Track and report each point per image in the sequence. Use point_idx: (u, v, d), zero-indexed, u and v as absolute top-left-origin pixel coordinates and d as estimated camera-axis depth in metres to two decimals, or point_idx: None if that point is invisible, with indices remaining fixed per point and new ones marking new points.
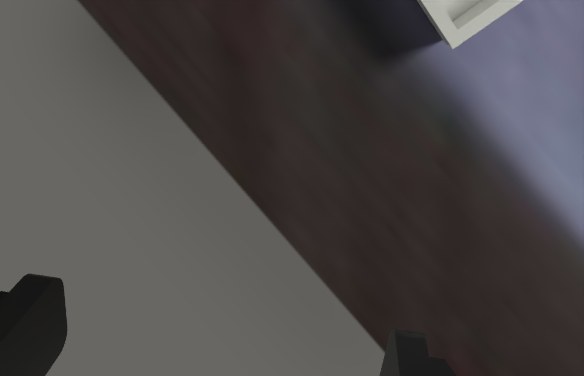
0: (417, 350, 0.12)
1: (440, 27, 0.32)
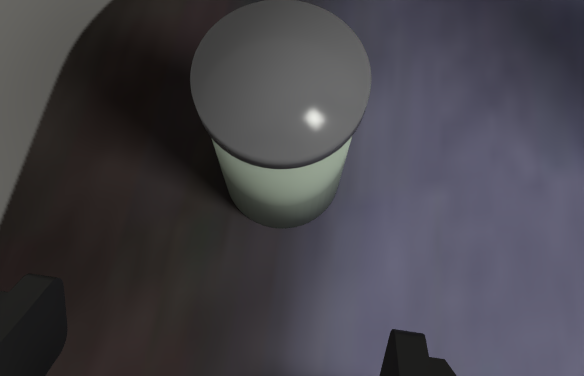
0: (417, 350, 0.12)
1: None
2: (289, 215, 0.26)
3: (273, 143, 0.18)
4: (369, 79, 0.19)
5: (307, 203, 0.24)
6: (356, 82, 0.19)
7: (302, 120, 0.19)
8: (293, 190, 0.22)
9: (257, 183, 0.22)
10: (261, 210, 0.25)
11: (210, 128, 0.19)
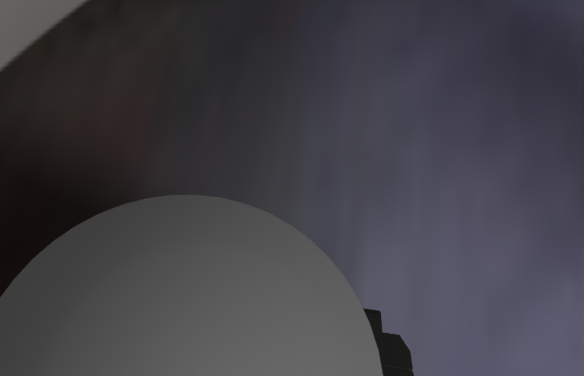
0: (372, 325, 0.12)
1: None
2: None
3: None
4: None
5: None
6: None
7: None
8: None
9: None
10: None
11: None
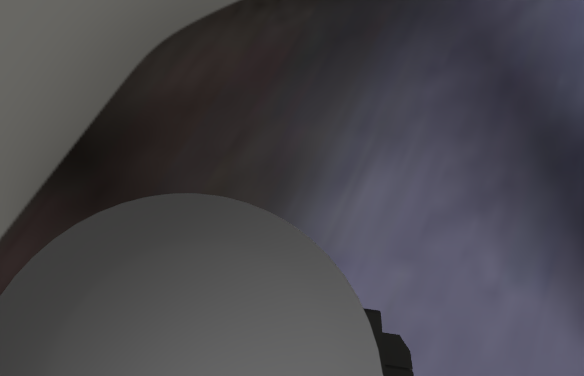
0: (371, 325, 0.12)
1: None
2: None
3: None
4: None
5: None
6: None
7: None
8: None
9: None
10: None
11: None
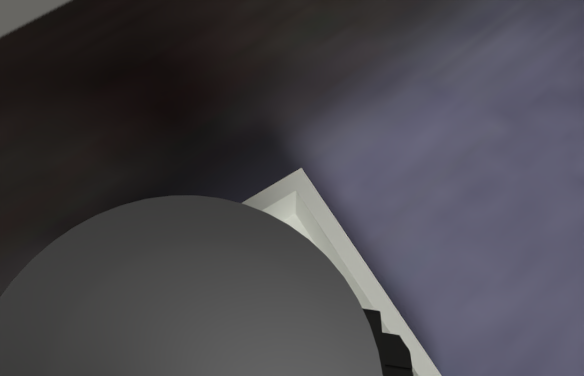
0: (371, 325, 0.12)
1: None
2: None
3: None
4: None
5: None
6: None
7: None
8: None
9: None
10: None
11: None
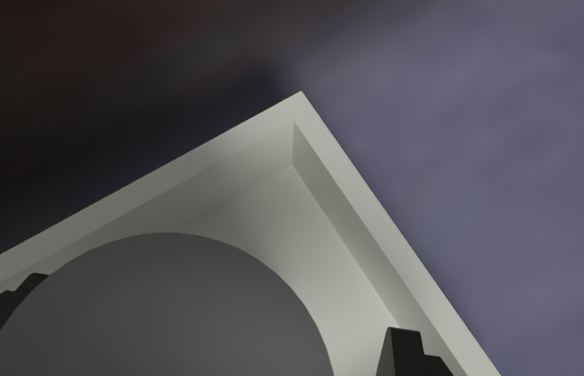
0: (413, 347, 0.12)
1: None
2: None
3: None
4: None
5: None
6: None
7: None
8: None
9: None
10: None
11: None
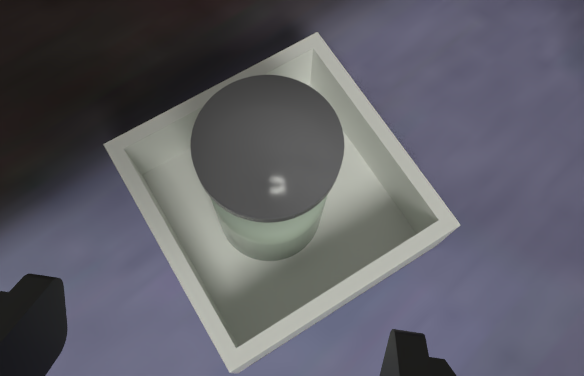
0: (417, 350, 0.12)
1: (129, 132, 0.29)
2: (276, 252, 0.29)
3: (262, 202, 0.22)
4: (342, 145, 0.23)
5: (292, 242, 0.28)
6: (331, 148, 0.23)
7: (286, 182, 0.22)
8: (279, 235, 0.26)
9: (248, 229, 0.25)
10: (251, 248, 0.29)
11: (208, 190, 0.22)
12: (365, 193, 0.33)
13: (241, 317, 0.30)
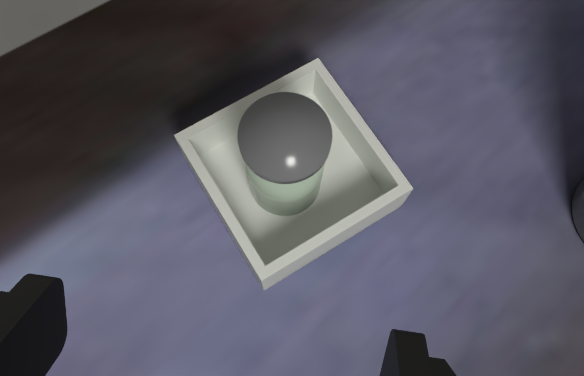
0: (417, 350, 0.12)
1: (191, 126, 0.43)
2: (290, 208, 0.43)
3: (282, 171, 0.36)
4: (331, 135, 0.37)
5: (301, 200, 0.42)
6: (324, 137, 0.36)
7: (297, 158, 0.36)
8: (293, 194, 0.40)
9: (273, 190, 0.39)
10: (274, 205, 0.43)
11: (249, 164, 0.36)
12: (352, 169, 0.47)
13: (266, 253, 0.44)
